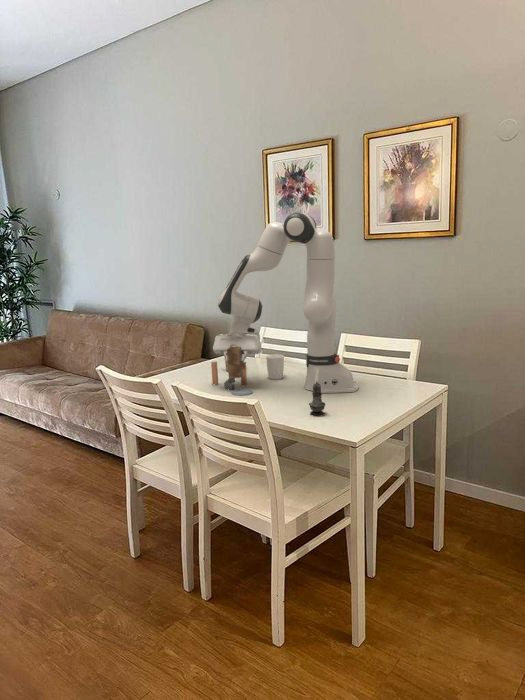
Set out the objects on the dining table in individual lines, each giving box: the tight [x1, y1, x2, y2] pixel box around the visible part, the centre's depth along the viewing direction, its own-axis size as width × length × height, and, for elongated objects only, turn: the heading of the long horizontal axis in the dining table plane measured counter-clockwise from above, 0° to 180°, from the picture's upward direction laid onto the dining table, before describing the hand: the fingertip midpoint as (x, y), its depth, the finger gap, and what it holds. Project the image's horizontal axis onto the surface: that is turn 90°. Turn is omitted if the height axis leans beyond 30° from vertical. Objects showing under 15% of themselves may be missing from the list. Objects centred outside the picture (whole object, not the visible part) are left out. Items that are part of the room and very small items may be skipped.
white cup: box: [265, 353, 285, 380], centre depth 235 cm, size 8×8×10 cm
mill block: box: [227, 344, 243, 379], centre depth 215 cm, size 5×5×13 cm
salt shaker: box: [308, 381, 326, 417], centre depth 184 cm, size 6×6×12 cm
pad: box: [230, 387, 254, 397], centre depth 215 cm, size 9×9×1 cm
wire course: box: [210, 361, 248, 391], centre depth 225 cm, size 15×15×10 cm
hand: (234, 361), depth 215 cm, fingers closed on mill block, 5 cm apart
